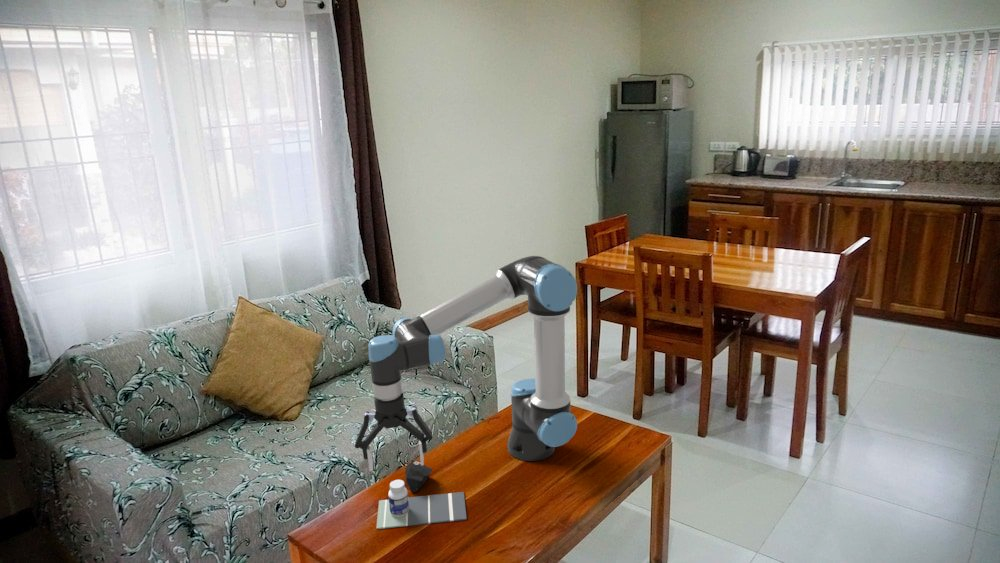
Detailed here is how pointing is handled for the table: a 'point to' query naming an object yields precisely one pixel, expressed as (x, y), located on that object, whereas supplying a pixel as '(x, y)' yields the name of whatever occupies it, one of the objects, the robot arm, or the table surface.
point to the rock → (416, 475)
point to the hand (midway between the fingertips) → (397, 465)
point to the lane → (424, 510)
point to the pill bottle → (398, 498)
